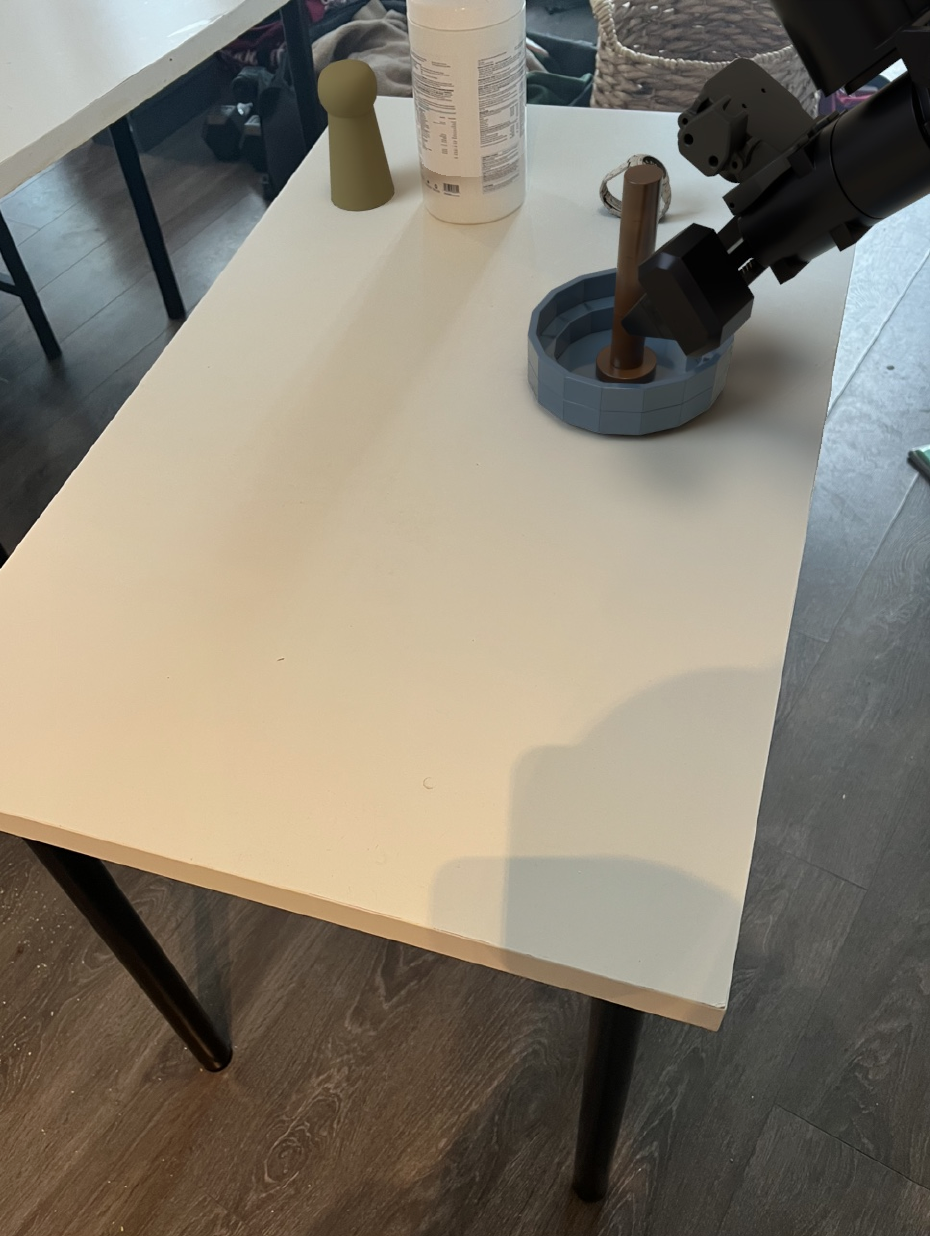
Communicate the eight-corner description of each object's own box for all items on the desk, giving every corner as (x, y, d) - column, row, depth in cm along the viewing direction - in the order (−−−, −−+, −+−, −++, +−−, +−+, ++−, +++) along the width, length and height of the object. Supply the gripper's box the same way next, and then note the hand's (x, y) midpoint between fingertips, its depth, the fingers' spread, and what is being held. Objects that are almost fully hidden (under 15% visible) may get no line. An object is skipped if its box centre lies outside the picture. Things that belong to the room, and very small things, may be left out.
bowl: (682, 305, 77) (689, 251, 73) (755, 416, 69) (768, 362, 65) (507, 342, 76) (506, 290, 73) (560, 459, 68) (562, 407, 64)
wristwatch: (662, 230, 83) (669, 171, 79) (593, 220, 85) (596, 162, 81) (674, 209, 85) (681, 150, 81) (606, 199, 87) (610, 141, 83)
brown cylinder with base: (668, 369, 72) (695, 170, 60) (627, 398, 70) (646, 200, 58) (623, 345, 74) (640, 148, 62) (582, 372, 72) (592, 176, 61)
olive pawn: (320, 190, 93) (298, 64, 84) (377, 170, 94) (360, 43, 85) (347, 218, 90) (326, 89, 81) (405, 196, 91) (391, 67, 82)
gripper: (878, -45, 53) (677, 123, 67) (689, 100, 46) (509, 254, 59) (972, 140, 56) (760, 265, 69) (808, 304, 48) (609, 406, 62)
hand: (664, 292), depth 65 cm, fingers open, 9 cm apart
